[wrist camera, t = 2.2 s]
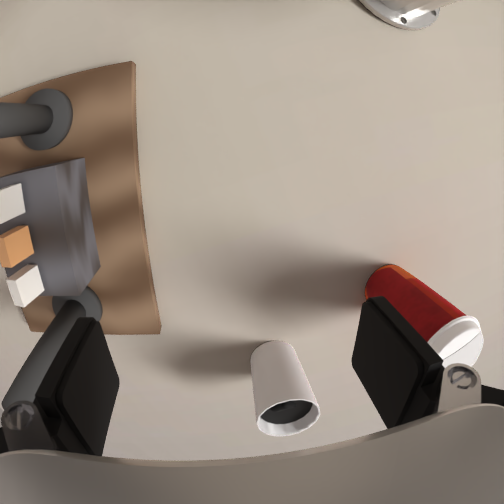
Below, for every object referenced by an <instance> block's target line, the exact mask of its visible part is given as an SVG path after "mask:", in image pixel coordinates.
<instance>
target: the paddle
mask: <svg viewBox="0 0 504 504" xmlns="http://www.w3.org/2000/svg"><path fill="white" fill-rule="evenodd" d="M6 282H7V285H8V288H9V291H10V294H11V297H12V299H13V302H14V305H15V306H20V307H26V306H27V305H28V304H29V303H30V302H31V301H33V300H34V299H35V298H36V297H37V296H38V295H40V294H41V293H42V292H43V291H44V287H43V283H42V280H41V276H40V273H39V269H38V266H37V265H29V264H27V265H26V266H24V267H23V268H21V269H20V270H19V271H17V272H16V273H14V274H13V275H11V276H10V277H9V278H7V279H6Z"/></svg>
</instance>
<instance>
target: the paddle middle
mask: <svg viewBox="0 0 504 504" xmlns="http://www.w3.org/2000/svg"><path fill="white" fill-rule="evenodd" d="M33 253H34V250H33V246H32V241H31V237H30V232H29V227H28V225H24V226H17V227H15V228H13V229H11V230H9V231H7V232H5V233H3V234H2V235H0V262H1V265H2V267H8V268H12V267H13V266H15V265H16V264H18V263H19V262H21V261H23V260H24V259H26V258H27V257H29V256H30V255H32V254H33Z"/></svg>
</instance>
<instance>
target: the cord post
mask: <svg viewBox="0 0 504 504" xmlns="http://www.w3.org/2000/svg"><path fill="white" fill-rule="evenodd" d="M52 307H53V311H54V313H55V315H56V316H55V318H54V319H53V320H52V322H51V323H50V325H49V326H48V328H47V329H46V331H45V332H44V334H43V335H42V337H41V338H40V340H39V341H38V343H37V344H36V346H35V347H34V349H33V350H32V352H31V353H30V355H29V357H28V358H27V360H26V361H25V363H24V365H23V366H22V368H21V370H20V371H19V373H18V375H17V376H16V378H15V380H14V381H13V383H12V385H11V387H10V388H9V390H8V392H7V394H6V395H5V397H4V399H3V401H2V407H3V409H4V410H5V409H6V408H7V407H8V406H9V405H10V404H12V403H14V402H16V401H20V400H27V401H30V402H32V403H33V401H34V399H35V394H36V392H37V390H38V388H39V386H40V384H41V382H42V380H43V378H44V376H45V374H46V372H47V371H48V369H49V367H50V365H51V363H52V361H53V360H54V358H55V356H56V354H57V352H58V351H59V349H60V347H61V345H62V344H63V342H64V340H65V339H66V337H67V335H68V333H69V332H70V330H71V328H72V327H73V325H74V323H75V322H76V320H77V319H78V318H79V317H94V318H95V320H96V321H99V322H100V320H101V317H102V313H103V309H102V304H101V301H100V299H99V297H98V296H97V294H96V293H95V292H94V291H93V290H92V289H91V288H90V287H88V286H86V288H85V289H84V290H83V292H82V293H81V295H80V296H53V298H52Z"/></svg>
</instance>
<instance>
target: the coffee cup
mask: <svg viewBox="0 0 504 504" xmlns="http://www.w3.org/2000/svg"><path fill="white" fill-rule="evenodd" d="M377 296H384V297H385V298H386V299H387V300H388V301H389V302H390V303H391V304H392V305H393V306H394V307H395V308H396V310H397V311H398V312H399V313H400V314H401V315H402V316H403V317H404V318H405V319H406V320H407V321H408V322H409V323H410V324H411V325H412V326H413V328H414V329H415V330H416V331H417V332H418V333H419V334H420V335H421V336H422V337H423V338H424V339H425V341H426V342H427V343H428V344H429V345H430V346H431V347H432V348H433V349H434V350H435V352H436V353H437V354H438V355H439V356H440V357H441V358H442V359H443V364H442V365H443V366H444V367H445V368H446V367H447V366H448V365H451V364H454V363H461V364H466V365H469V366H470V367H472V366H473V364H474V363H475V362H476V360H477V358H478V356H479V355H480V352H481V350H482V346H483V335H482V333H481V329H480V325H479V322H478V320H477V319H476V318H475V317H473V316H468V315H465V314H464V313H463V312H461V311H460V310H459V309H457V308H456V307H455V306H454V305H452V304H451V303H450V302H448V301H447V300H446V299H444V298H443V297H442V296H440V295H439V294H438V293H436V292H435V291H434V290H432V289H431V288H430V287H428V286H427V285H425V284H424V283H423V282H421V281H420V280H418V279H417V278H416V277H414V276H413V275H411V274H410V273H408V272H407V271H405V270H404V269H402V268H401V267H399V266H396V265H385V266H383V267H381V268H379V269H378V270H376V271H375V272H374V273H373V274H372V275H371V277H370V278H369V280H368V282H367V284H366V287H365V297H366V300H367V299H368V298H370V297H377Z"/></svg>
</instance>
